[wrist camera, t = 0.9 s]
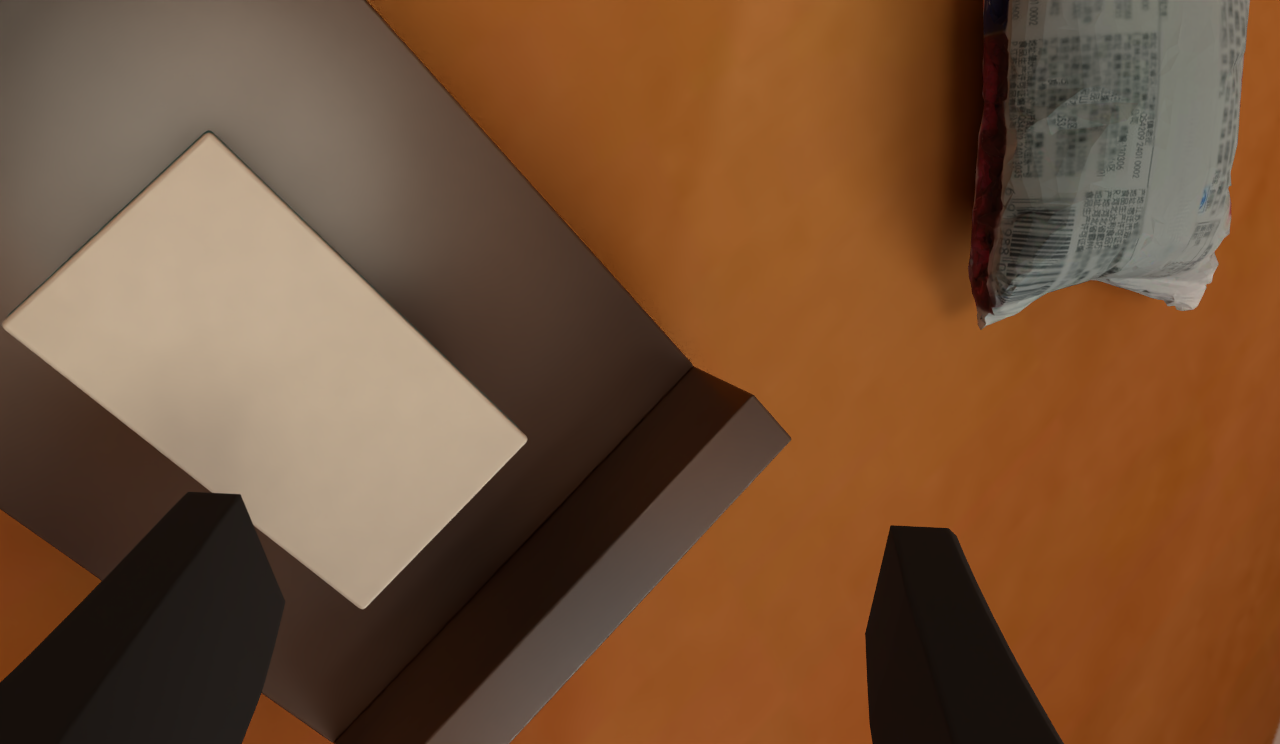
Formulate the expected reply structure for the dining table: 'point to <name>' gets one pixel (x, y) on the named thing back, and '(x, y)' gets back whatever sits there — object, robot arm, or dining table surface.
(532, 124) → the dining table surface
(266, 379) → the tea box
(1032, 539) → the dining table surface
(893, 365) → the dining table surface
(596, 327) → the walnut shelf
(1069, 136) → the packaged food
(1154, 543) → the dining table surface
